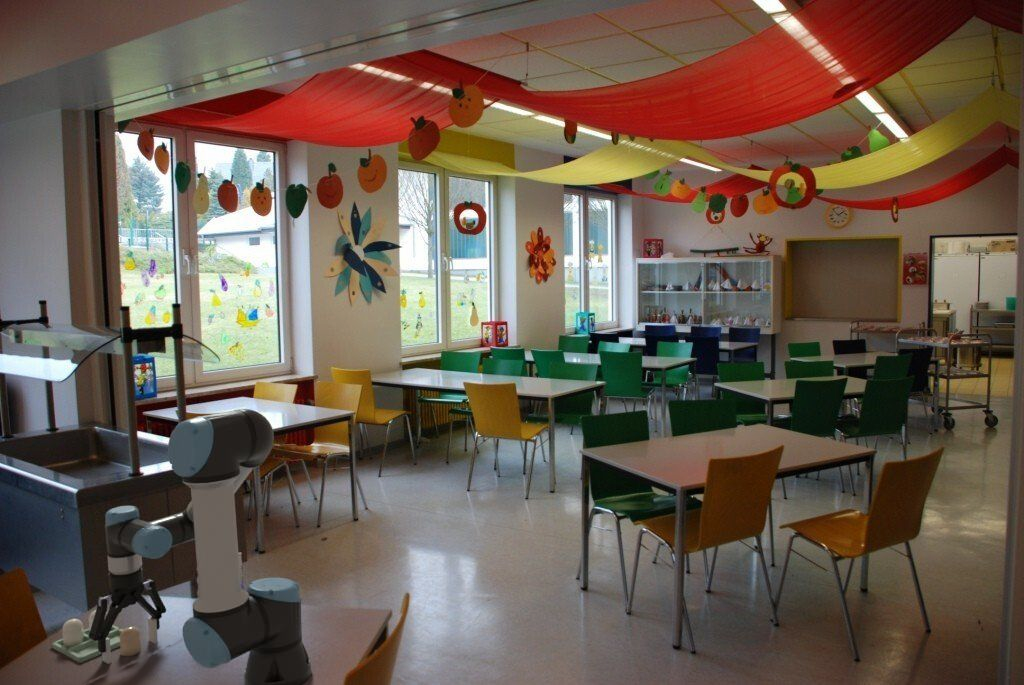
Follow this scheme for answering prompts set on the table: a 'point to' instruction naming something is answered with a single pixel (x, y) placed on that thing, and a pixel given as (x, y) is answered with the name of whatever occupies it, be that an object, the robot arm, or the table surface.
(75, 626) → the cream egg
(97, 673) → the table surface
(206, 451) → the robot arm
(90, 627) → the cream egg
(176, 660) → the table surface
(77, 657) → the egg tray
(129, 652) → the brown egg
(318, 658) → the table surface
